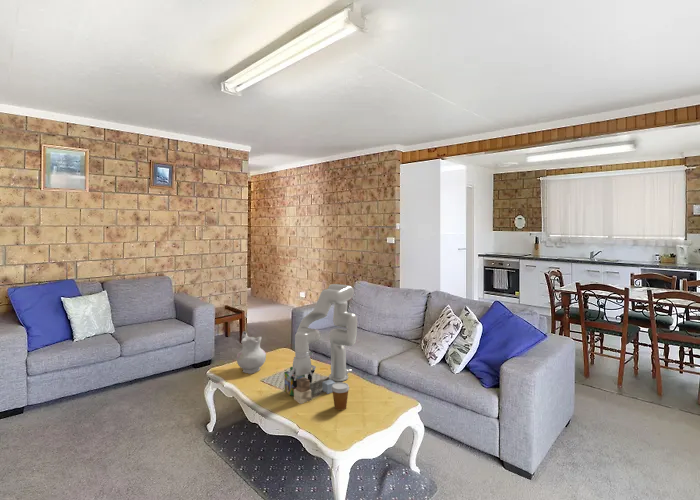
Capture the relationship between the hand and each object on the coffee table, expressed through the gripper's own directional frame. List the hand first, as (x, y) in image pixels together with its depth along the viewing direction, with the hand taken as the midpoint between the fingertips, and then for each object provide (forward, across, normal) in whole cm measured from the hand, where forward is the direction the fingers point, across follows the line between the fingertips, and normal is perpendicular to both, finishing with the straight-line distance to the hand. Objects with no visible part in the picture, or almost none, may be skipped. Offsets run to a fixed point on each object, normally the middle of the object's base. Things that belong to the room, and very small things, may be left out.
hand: (302, 384), depth 213 cm
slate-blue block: (+9, -18, 0) cm, 20 cm away
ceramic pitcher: (+9, +4, -61) cm, 61 cm away
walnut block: (+3, 0, 0) cm, 3 cm away
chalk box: (+9, -2, -12) cm, 15 cm away
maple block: (+9, 0, 0) cm, 9 cm away
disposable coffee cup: (+9, -11, +20) cm, 25 cm away
